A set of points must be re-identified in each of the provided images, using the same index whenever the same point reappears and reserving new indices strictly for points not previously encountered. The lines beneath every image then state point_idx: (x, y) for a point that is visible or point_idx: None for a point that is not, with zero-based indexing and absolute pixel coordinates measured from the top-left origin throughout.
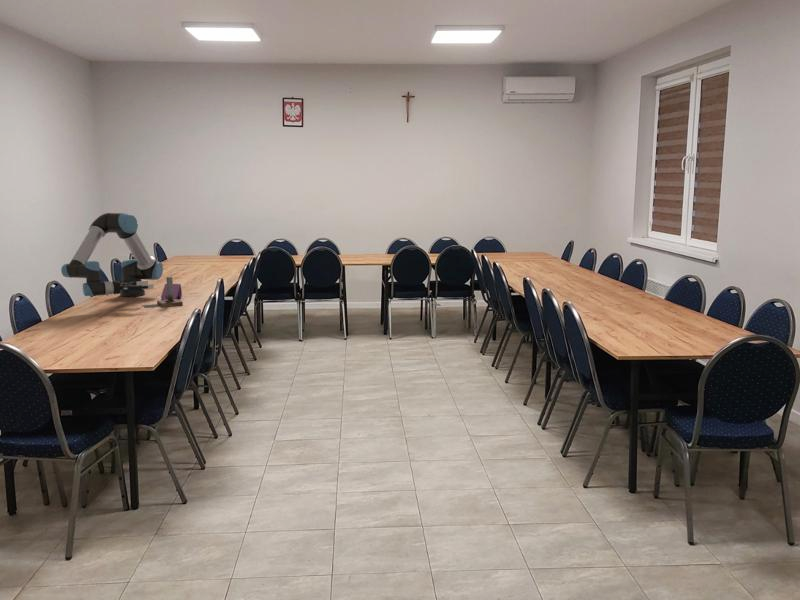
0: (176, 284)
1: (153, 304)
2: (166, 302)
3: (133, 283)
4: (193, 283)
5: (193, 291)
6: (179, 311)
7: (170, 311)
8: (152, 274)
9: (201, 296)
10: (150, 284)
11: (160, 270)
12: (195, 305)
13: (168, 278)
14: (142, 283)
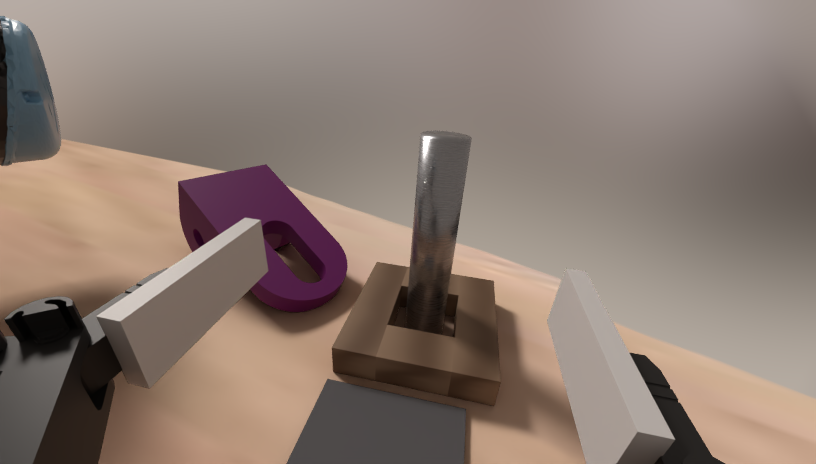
0: (250, 171)
1: (323, 394)
2: (462, 339)
3: (71, 405)
4: (81, 144)
5: (191, 178)
6: (701, 386)
7: (699, 433)
8: (9, 124)
9: (306, 197)
10: (600, 299)
11: (47, 91)
12: (498, 266)
13: (465, 149)
14: (217, 284)
